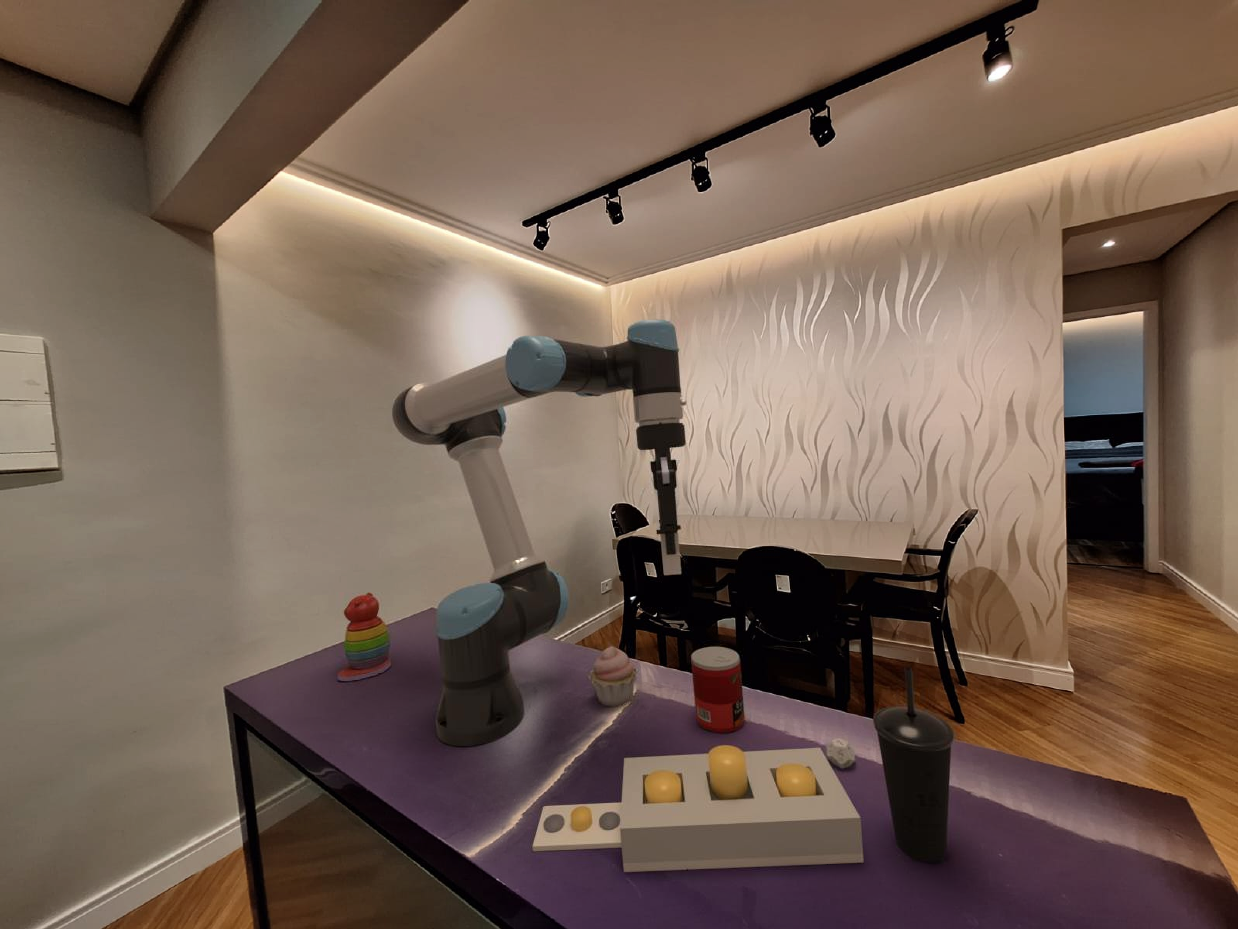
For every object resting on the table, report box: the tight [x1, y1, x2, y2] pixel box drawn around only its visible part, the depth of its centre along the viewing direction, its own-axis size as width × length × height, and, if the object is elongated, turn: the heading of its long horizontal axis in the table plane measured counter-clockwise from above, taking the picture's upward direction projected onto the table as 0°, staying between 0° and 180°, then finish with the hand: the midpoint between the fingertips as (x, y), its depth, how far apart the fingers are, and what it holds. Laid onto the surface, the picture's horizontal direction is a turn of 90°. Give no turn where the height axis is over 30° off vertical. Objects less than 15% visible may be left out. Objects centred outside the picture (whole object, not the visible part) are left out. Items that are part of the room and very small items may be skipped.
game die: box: [826, 737, 856, 770], centre depth 68 cm, size 4×4×3 cm
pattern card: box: [532, 801, 622, 852], centre depth 61 cm, size 11×6×2 cm, turn 87°
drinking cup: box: [872, 666, 955, 864], centre depth 54 cm, size 8×8×20 cm
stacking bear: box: [337, 592, 391, 677], centre depth 113 cm, size 11×10×18 cm
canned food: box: [690, 646, 745, 734], centre depth 81 cm, size 8×8×11 cm
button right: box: [776, 763, 816, 797], centre depth 59 cm, size 4×4×4 cm
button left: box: [645, 770, 682, 804], centre depth 59 cm, size 4×4×4 cm
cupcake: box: [588, 645, 639, 707], centre depth 91 cm, size 9×9×10 cm
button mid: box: [707, 744, 748, 800], centre depth 59 cm, size 4×4×4 cm
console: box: [620, 747, 865, 873], centre depth 59 cm, size 26×12×5 cm, turn 87°
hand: (672, 573), depth 76 cm, fingers closed
